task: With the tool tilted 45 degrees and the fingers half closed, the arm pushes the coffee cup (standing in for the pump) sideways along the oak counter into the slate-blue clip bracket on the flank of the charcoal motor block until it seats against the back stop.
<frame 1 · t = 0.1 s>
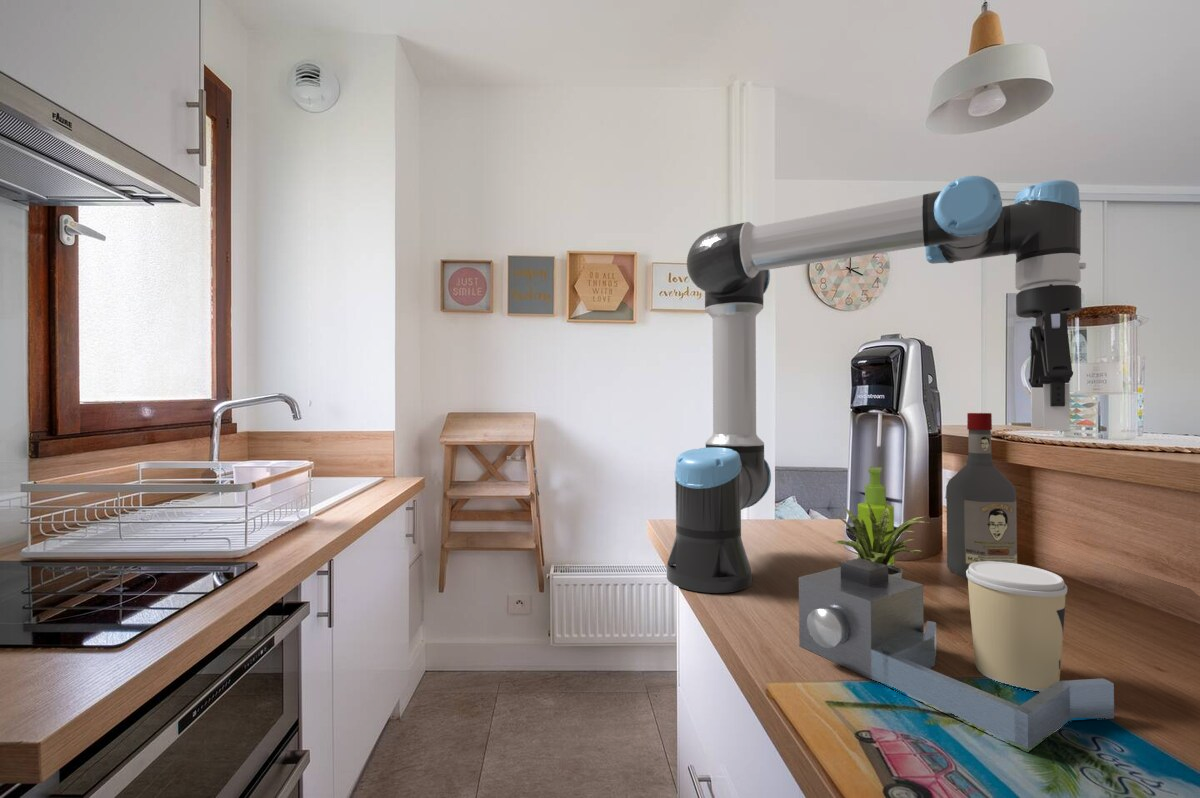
hand: (1048, 429, 79), 28 cm above the countertop, tool pointing down, fingers open, 13 cm apart
soap dispenser: (876, 576, 98), on the countertop
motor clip: (977, 696, 57), on the countertop
house plant: (882, 612, 81), on the countertop
liquor: (981, 576, 98), on the countertop
coffee cup: (1015, 676, 62), on the countertop
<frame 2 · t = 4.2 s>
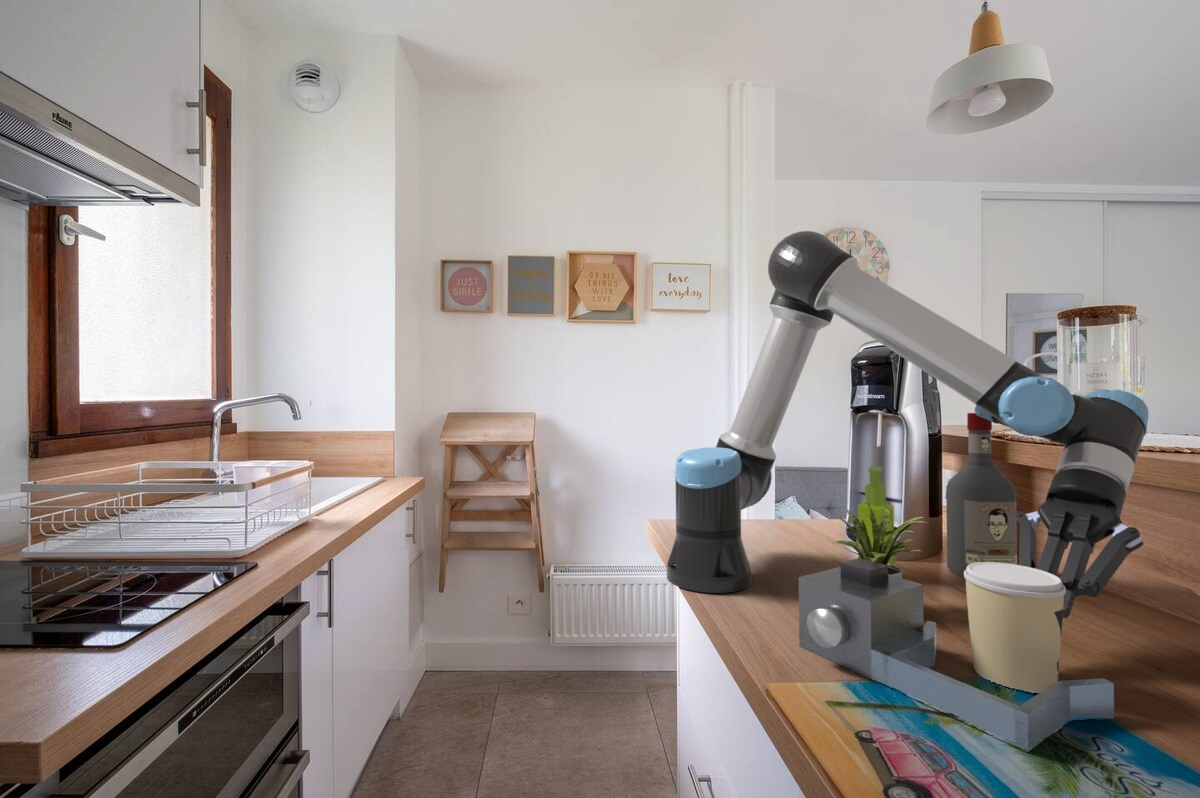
hand: (1039, 634, 64), 4 cm above the countertop, tool tilted 45°, fingers closed
coffee cup: (1013, 677, 62), on the countertop, touching gripper
everything else where it was.
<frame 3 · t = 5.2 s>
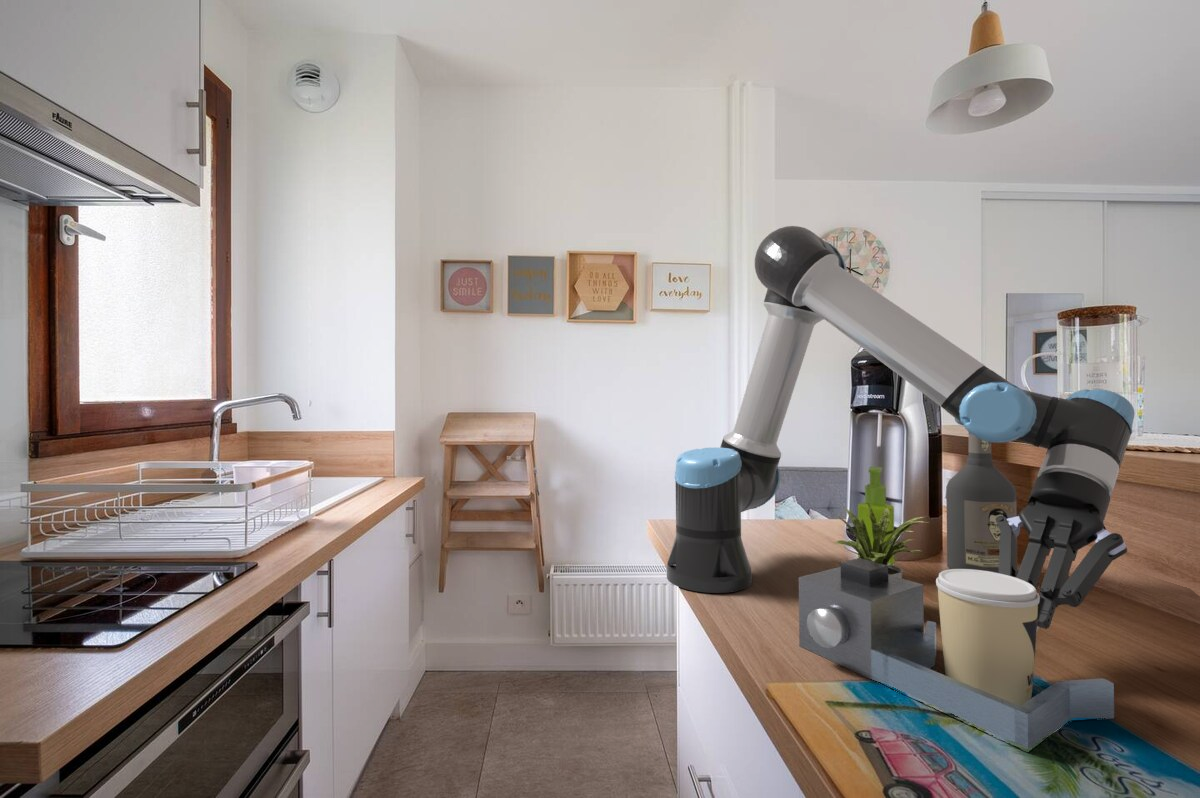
hand: (1017, 645, 61), 4 cm above the countertop, tool tilted 45°, fingers closed
coffee cup: (986, 690, 59), on the countertop, touching gripper
everything else where it was.
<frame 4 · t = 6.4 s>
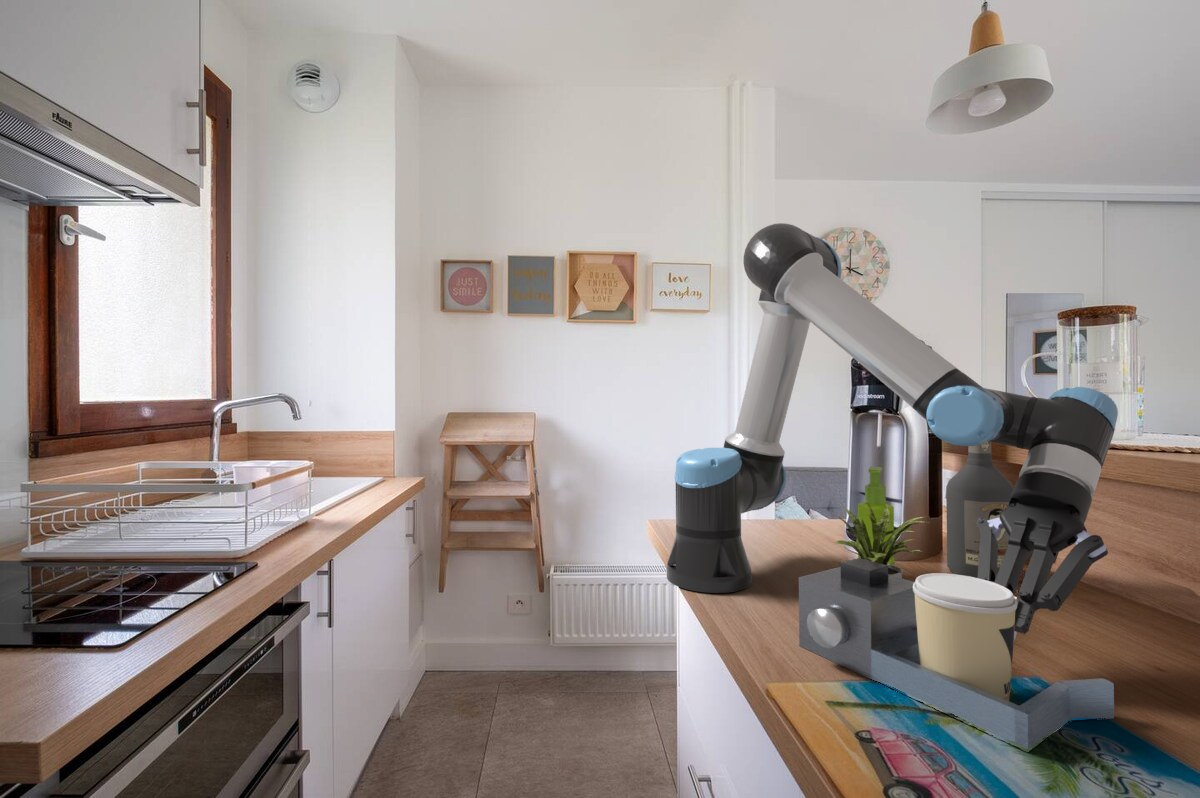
hand: (995, 651, 59), 4 cm above the countertop, tool tilted 45°, fingers closed
coffee cup: (963, 698, 57), on the countertop, touching gripper, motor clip
everything else where it was.
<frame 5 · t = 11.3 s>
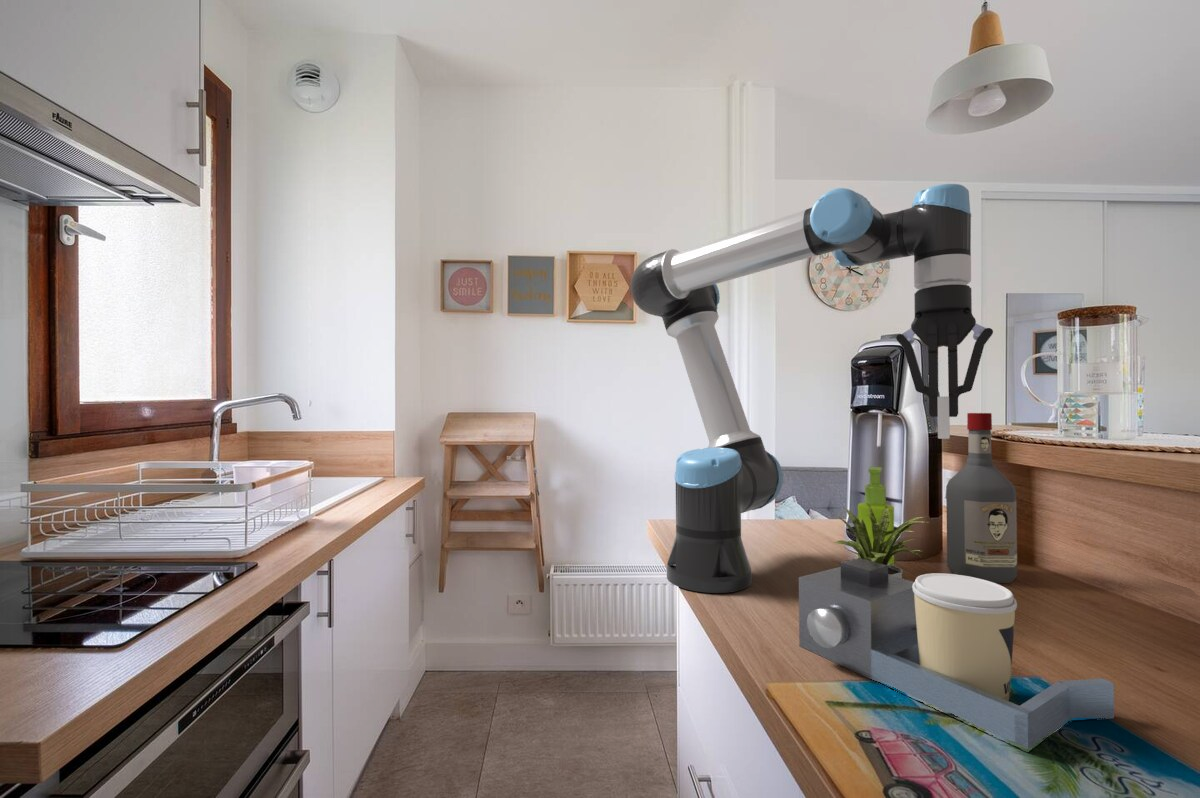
hand: (943, 438, 83), 26 cm above the countertop, tool pointing down, fingers closed
coffee cup: (963, 698, 57), on the countertop
everything else where it was.
at the end: coffee cup 1.5 cm from the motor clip (horizontally); coffee cup tilted 0° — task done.
